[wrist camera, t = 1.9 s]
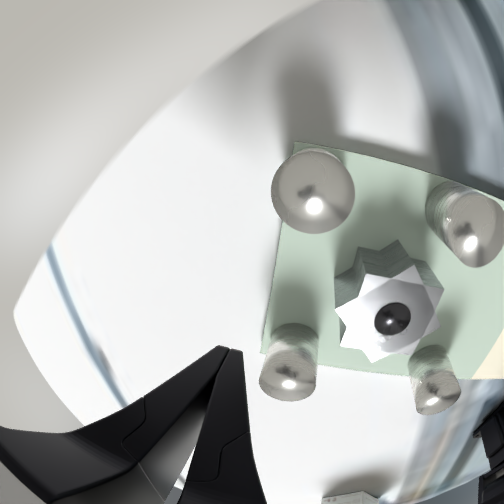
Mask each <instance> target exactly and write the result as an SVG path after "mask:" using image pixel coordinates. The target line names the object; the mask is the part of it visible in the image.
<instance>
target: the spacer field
mask: <svg viewBox="0 0 504 504" xmlns="http://www.w3.org/2000/svg"><path fill="white" fill-rule="evenodd" d="M271 198H272V202H273V205H274V208H275V210H276V212H277V214H278V215H279V217H280V218H281V219H282V220H283V221H284V222H285V223H286V224H287V225H288V226H290V227H291V228H293V229H295V230H297V231H300V232H303V233H308V234H321V233H325V232H329V231H331V230H333V229H335V228H337V227H338V226H340V225H341V224H342V223H343V222H344V221H345V220H346V219H347V217H348V216H349V214H350V213H351V211H352V208H353V205H354V201H355V186H354V182H353V179H352V177H351V175H350V173H349V171H348V170H347V169H346V167H345V166H344V165H343V164H342V163H341V161H340V160H339V159H338V158H337V157H336V156H335V155H334V154H332V153H331V152H329V151H327V150H325V149H321V148H306V149H303V150H300V151H298V152H297V153H295V154H294V155H293V156H291V157H290V158H289V159H287V160H286V161H285V162H284V163H283V164H282V165H281V166H280V167H279V168H278V170H277V171H276V173H275V175H274V178H273V181H272V186H271ZM425 218H426V222H427V224H428V226H429V228H430V229H431V231H432V232H433V233H434V234H435V235H436V236H437V237H438V238H439V239H440V240H441V241H442V242H443V243H444V244H445V245H446V246H447V247H448V248H449V249H450V250H451V251H452V252H453V253H454V254H455V256H456V257H457V258H458V259H459V260H460V261H461V262H462V263H463V264H464V265H466V266H468V267H472V268H478V267H482V266H485V265H487V264H489V263H490V262H491V261H493V260H494V259H495V258H496V257H497V255H498V254H499V252H500V251H501V249H502V247H503V245H504V210H503V209H502V207H501V206H500V205H499V203H498V202H496V201H495V200H493V199H491V198H489V197H487V196H485V195H483V194H481V193H479V192H477V191H474V190H472V189H470V188H468V187H466V186H464V185H461V184H459V183H457V182H453V181H447V182H443V183H441V184H439V185H437V186H436V187H435V188H434V189H433V190H432V191H431V193H430V194H429V196H428V198H427V201H426V205H425ZM318 348H319V339H318V336H317V334H316V333H315V331H314V330H313V329H311V328H310V327H308V326H306V325H304V324H300V323H287V324H283V325H281V326H279V327H278V328H276V329H275V330H274V332H273V333H272V336H271V339H270V343H269V346H268V350H267V354H266V357H265V361H264V364H263V368H262V371H261V375H260V378H259V384H260V387H261V389H262V390H263V391H264V392H265V393H266V394H267V395H269V396H271V397H273V398H275V399H278V400H282V401H299V400H302V399H305V398H307V397H309V396H310V395H311V394H312V393H313V392H314V390H315V386H316V375H317V362H318ZM407 368H408V372H409V377H410V381H411V385H412V390H413V395H414V399H415V404H416V410H417V412H418V413H420V414H422V415H432V414H436V413H439V412H442V411H444V410H446V409H447V408H449V407H450V406H452V405H453V404H454V403H455V402H456V401H457V400H458V398H459V396H460V394H461V389H460V386H459V383H458V380H457V378H456V375H455V372H454V370H453V367H452V364H451V362H450V359H449V357H448V354H447V352H446V350H445V348H444V347H442V346H440V345H429V346H426V347H424V348H422V349H420V350H418V351H417V352H416V353H415V354H414V355H413V356H412V357H411V358H410V360H409V362H408V365H407Z"/></svg>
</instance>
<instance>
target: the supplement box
mask: <svg viewBox="0 0 504 504" xmlns="http://www.w3.org/2000/svg"><path fill="white" fill-rule="evenodd" d="M321 504H379V499H376V498H374V497H372V496H371V495H369V494H367V493H366V492H364V491H360V492H355V493H350V494H344V495H338V496H332V497H326V498H322V502H321Z"/></svg>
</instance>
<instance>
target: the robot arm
mask: <svg viewBox="0 0 504 504" xmlns="http://www.w3.org/2000/svg"><path fill="white" fill-rule="evenodd" d="M479 437H482V440H483V444H484V448H485V452H486V457H487V458H488V459H489V463H490V468H491V471H490V472H488V473H486V474H484V475H482V476H480V477H479V490H478V491H479V493H478V504H504V402H503V403H502V404H501V405H500V406H499V408H498V409H497V410H496V411H495V412H494V413H493V414H492V415H491V416H490V417H489V419H488V420H487V421H486V422H485V423H484V424H483V425H482V426H481V427H480V428H479V429H478V430H477V431H476V432H475V433H474V434H473V438H479ZM196 443H197V444H196ZM195 445H196V447H195ZM194 447H195V451H194V454H193V457H192V461H191V464H190V468H189V471H188V475H187V478H186V482H185V485H184V488H183V491H182V494H181V496H180V499H179V501H178V503H177V504H267V502H266V499H265V496H264V492H263V489H262V486H261V483H260V479H259V476H258V472H257V469H256V464H255V460H254V456H253V449H252V443H251V433H250V424H249V414H248V404H247V394H246V383H245V372H244V361H243V352H242V351H240V350H236V349H229V348H228V347H224V346H220V345H218V346H216V347H215V348H213V349H212V350H211V351H209V352H208V353H206V354H205V355H203V356H202V357H201V358H199V359H198V360H196V361H195V362H194V363H192V364H191V365H189V366H188V367H186V368H185V369H183V370H182V371H180V372H179V373H178V374H176V375H175V376H173V377H172V378H170V379H169V380H167V381H166V382H164V383H163V384H161V385H160V386H158V387H157V388H155V389H154V390H152V391H151V392H149V393H148V394H146V395H144V398H143V397H141V398H140V399H138V400H137V401H135V402H133V403H132V404H130V405H128V406H127V407H125V408H123V409H121V410H119V411H117V412H115V413H113V414H111V415H109V416H107V417H105V418H103V419H101V420H98V421H96V422H94V423H91V424H89V425H87V426H84V427H82V428H80V429H77V430H74V431H71V432H66V433H45V432H32V431H23V430H15V429H9V428H4V427H2V426H0V504H164V501H165V500H166V498H167V496H168V495H169V493H170V491H171V489H172V488H173V486H174V484H175V482H176V480H177V479H178V477H179V475H180V473H181V471H182V469H183V468H184V466H185V464H186V462H187V460H188V458H189V456H190V455H191V453H192V451H193V449H194Z"/></svg>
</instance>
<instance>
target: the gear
mask: <svg viewBox="0 0 504 504" xmlns="http://www.w3.org/2000/svg"><path fill="white" fill-rule="evenodd" d="M444 290H445V289H444V287H443V286H442V284H441V283H440V281H439V280H438V278H437V277H436V275H435V274H434V272H433V271H432V270H431V268H430V267H429V265H428V264H427V262H426V261H423V260H419V259H414V258H410V257H409V255H408V254H407V252H406V251H405V249H404V247H403V246H402V244H401V243H400V241H399V240H398V239H397V240H396V241H394V242H393V243H391V244H389V245H388V246H386V247H385V248H383V249H381V250H380V251H378V250H373V249H369V248H364V247H359V246H358V248H357V252H356V256H355V259H354V263H353V266H352V267H351V268H349V269H348V270H346V271H344V272H343V273H341V274H339V275H337V276H336V277H334V295H335V310H336V312H337V313H338V314H339V326H340V346H345V347H352V348H358V349H363V351H364V352H365V354H366V355H367V356H368V358H369V359H370V361H371V362H375V361H377V360H379V359H381V358H383V357H385V356H387V355H390V354H392V353H394V354H403V355H412V354H413V352H414V350H415V349H416V347H417V345H418V343H419V341H420V339H421V338H423V337H424V336H426V335H428V334H430V333H431V332H433V331H435V330H437V329H438V328H440V327H441V325H440V322H439V320H438V317H437V315H436V312H435V310H436V307H437V305H438V303H439V301H440V299H441V296H442V294H443V292H444Z"/></svg>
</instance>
